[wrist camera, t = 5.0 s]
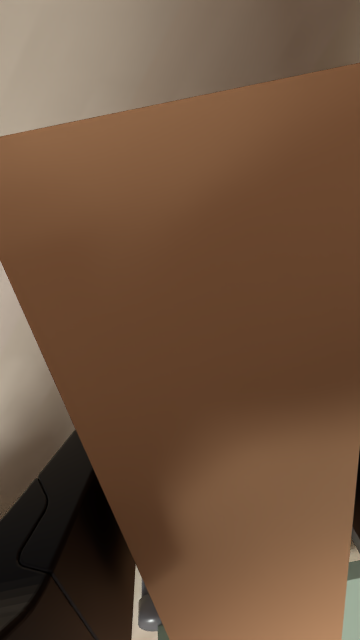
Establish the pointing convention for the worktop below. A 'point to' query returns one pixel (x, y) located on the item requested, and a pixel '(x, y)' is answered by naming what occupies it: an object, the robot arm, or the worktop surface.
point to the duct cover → (356, 622)
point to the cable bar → (207, 338)
